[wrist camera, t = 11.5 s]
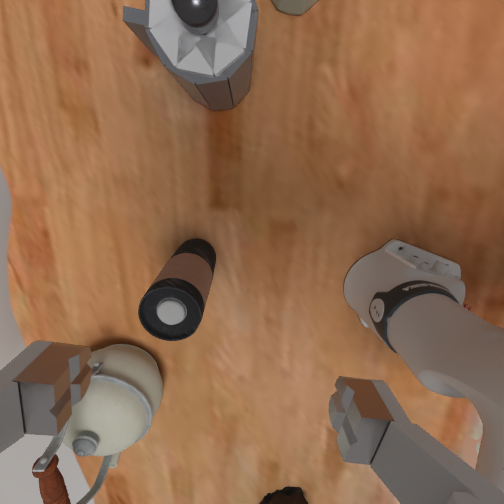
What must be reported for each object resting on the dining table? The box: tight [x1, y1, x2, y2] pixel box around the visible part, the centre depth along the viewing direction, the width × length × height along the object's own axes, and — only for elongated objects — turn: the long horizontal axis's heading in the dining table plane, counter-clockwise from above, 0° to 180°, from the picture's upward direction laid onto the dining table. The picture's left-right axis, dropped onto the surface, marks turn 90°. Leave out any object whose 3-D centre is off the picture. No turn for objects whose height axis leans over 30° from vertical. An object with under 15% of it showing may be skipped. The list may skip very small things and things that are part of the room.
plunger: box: [171, 0, 219, 35], centre depth 27 cm, size 4×4×13 cm
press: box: [123, 0, 258, 111], centre depth 33 cm, size 13×11×18 cm
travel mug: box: [138, 239, 216, 341], centre depth 42 cm, size 8×8×20 cm
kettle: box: [32, 344, 163, 504], centre depth 48 cm, size 25×18×25 cm
